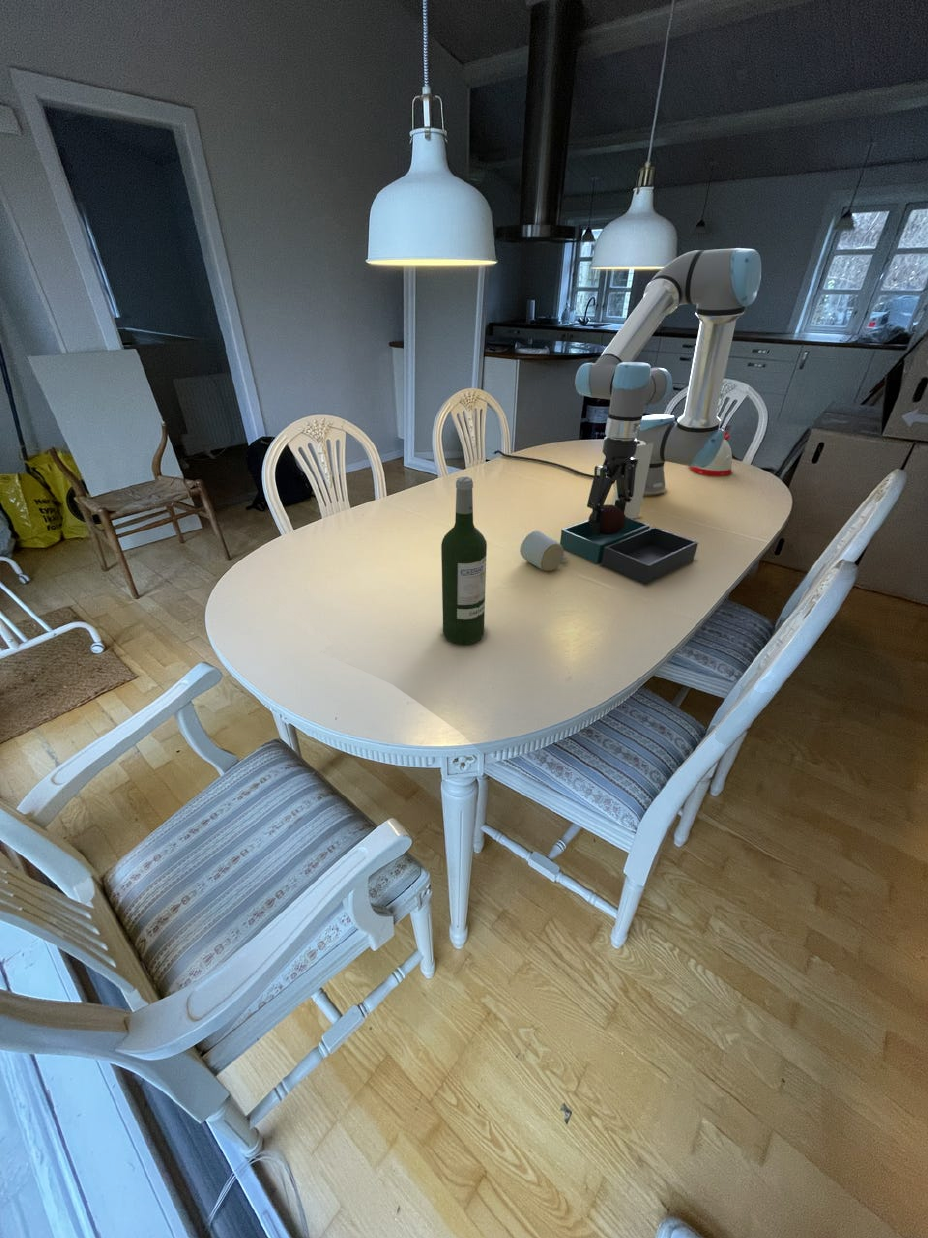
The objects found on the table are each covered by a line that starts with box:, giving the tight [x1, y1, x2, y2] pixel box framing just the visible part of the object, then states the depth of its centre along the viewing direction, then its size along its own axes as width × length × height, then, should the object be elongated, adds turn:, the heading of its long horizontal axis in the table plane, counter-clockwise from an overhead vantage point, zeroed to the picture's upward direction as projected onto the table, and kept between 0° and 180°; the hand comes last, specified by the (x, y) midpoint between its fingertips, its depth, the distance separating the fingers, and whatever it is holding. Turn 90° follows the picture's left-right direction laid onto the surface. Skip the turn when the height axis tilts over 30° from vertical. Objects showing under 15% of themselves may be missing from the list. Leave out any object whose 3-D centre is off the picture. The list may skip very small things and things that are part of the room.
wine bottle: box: [440, 476, 488, 646], centre depth 89 cm, size 8×8×30 cm
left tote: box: [559, 517, 651, 565], centre depth 130 cm, size 12×20×5 cm, turn 129°
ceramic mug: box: [519, 530, 568, 572], centre depth 120 cm, size 11×8×8 cm
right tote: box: [600, 526, 699, 586], centre depth 122 cm, size 12×20×5 cm, turn 129°
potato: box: [588, 503, 626, 535], centre depth 128 cm, size 8×9×8 cm
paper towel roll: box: [611, 440, 654, 519], centre depth 142 cm, size 7×6×21 cm
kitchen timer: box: [689, 427, 733, 477], centre depth 184 cm, size 14×14×15 cm
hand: (605, 529), depth 129 cm, fingers closed on potato, 8 cm apart
